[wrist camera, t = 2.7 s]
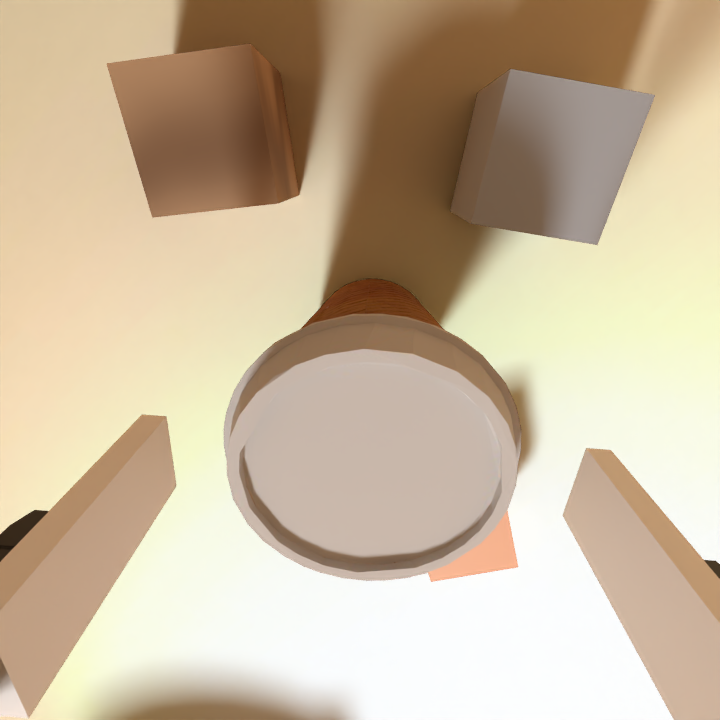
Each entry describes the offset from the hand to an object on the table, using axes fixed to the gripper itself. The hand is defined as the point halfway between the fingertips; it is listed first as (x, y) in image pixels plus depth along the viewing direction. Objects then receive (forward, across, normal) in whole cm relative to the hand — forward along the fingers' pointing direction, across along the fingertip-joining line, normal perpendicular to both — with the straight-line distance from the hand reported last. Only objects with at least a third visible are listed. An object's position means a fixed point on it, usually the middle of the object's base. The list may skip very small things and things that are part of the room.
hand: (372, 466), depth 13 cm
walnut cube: (+11, -7, +9) cm, 16 cm away
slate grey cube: (+11, +6, +9) cm, 16 cm away
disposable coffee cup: (+11, 0, 0) cm, 11 cm away
